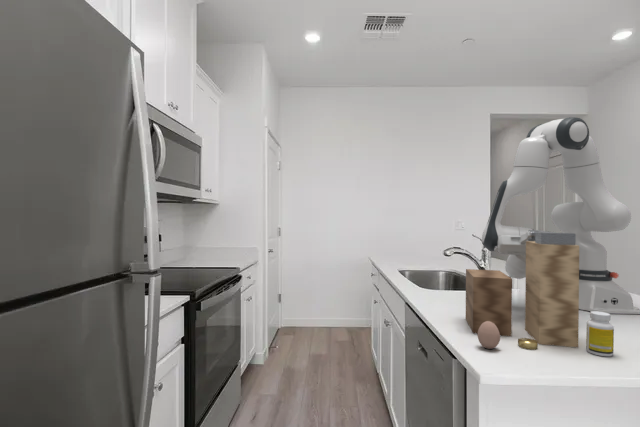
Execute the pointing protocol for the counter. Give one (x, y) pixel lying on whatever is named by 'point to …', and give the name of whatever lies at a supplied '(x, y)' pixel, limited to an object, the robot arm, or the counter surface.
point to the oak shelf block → (552, 293)
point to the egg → (488, 335)
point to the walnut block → (489, 300)
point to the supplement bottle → (600, 334)
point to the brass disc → (527, 343)
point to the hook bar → (553, 238)
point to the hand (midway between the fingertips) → (538, 233)
